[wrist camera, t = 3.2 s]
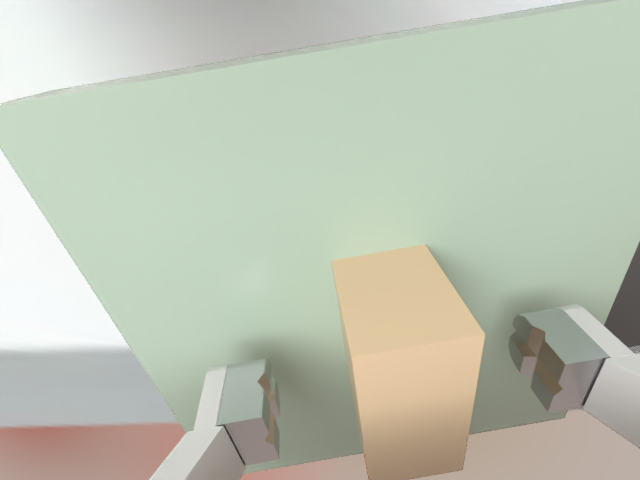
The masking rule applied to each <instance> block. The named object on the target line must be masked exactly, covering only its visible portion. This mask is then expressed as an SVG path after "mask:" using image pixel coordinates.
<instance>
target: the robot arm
mask: <svg viewBox="0 0 640 480" xmlns="http://www.w3.org/2000/svg"><path fill="white" fill-rule="evenodd" d="M512 325H513V327H514V328H515V329H516V331H515V332H514V333H513V334H512V335H511V336H510V338H509V344H508V347H509V352H510V356H511V358H512V361H513V363H514V365H515V366H516V368H517V369H518V371H519V372H520V373H521V374H523V375H525V376H527V377H528V378H530V379H531V389H532V391H533V392H534V394H535V395H536V396H537V398H538V399H539V401H540V402H541V403H542V405H543V406H544V408H545V409H546V411H547V412H553V411H560V410H567V409H574V408H581V407H583V410H585V411H586V412H588V413H589V414H590V415H592V416H593V417H595V418H596V419H598V420H599V421H601V422H602V423H603V424H605V425H606V426H608V427H609V428H611V429H612V430H614V431H615V432H616V433H618V434H619V435H621V436H622V437H624V438H625V439H627V440H628V441H630V442H631V443H632V444H634V445H635V446H637V447H638V448H640V353H636V354H634V353H633V352H632V351H631V350H630V349H629V348H628V347H627V346H625V345H624V344H623V343H622V342H621V341H620V340H619V339H618V338H617V337H616V336H614V335H613V334H612V333H611V332H610V331H609V330H608V329H607V328H606V327H605V326H603V325H602V324H601V323H600V322H599V321H598V320H597V319H596V318H595V317H593V316H592V315H591V314H590V313H589V312H588V311H587V310H586V309H585V308H583V307H582V306H580V305H578V304H574V305H568V306H562V307H557V308H549V309H544V310H538V311H533V312H528V313H522V314H517V315H516V316H515V318H514V320H513V324H512ZM279 415H280V400H279V391H278V386H277V382H276V379H275V377H273V376H272V375H271V364H270V362H269V359H260V360H254V361H247V362H240V363H233V364H227V365H221V366H215V367H210V368H209V370H208V372H207V373H206V377H205V381H204V386H203V390H202V395H201V399H200V403H199V408H198V412H197V417H196V421H195V425H194V430H193V431H188V432H187V433H186V434H185V435H184V436H183V438H182V439H181V440H180V441H179V443H178V444H177V445H176V446H175V448H174V449H173V450H172V452H171V453H170V454H169V455H168V456H167V458H166V459H165V460H164V462H163V463H162V464H161V465H160V466H159V468H158V469H157V470H156V471H155V473H154V474H153V475H152V476H151V478H150V479H149V480H240V478H241V476H242V475H243V473H244V471H245V469H246V468H245V466H248V465H253V464H258V463H263V462H268V461H273V460H278V459H279V448H280V431H279V428H278V425H277V423H276V420H277V418H278V416H279Z"/></svg>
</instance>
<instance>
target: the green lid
mask: <svg viewBox="0 0 640 480" xmlns="http://www.w3.org/2000/svg"><path fill="white" fill-rule="evenodd" d="M0 149H1V150H2V152H3V153H4V155H5V156H6V158H7V160H8V161H9V163H10V164H11V166H12V167H13V169H14V170H15V172H16V173H17V175H18V176H19V178H20V179H21V181H22V182H23V184H24V186H25V187H26V189H27V190H28V192H29V193H30V195H31V196H32V198H33V199H34V201H35V202H36V204H37V205H38V207H39V209H40V210H41V212H42V213H43V215H44V216H45V218H46V219H47V221H48V222H49V224H50V225H51V227H52V228H53V230H54V232H55V233H56V235H57V236H58V238H59V239H60V241H61V242H62V244H63V245H64V247H65V248H66V250H67V251H68V253H69V255H70V256H71V258H72V259H73V261H74V262H75V264H76V265H77V267H78V268H79V270H80V271H81V273H82V274H83V276H84V278H85V279H86V281H87V282H88V284H89V285H90V287H91V288H92V290H93V291H94V293H95V294H96V296H97V297H98V299H99V300H100V302H101V304H102V305H103V307H104V308H105V310H106V311H107V313H108V314H109V316H110V317H111V319H112V320H113V322H114V323H115V325H116V327H117V328H118V330H119V331H120V333H121V334H122V336H123V337H124V339H125V340H126V342H127V343H128V345H129V346H130V348H131V350H132V351H133V353H134V354H135V356H136V357H137V359H138V360H139V362H140V363H141V365H142V366H143V368H144V369H145V371H146V373H147V374H148V376H149V377H150V379H151V380H152V382H153V383H154V385H155V386H156V388H157V389H158V391H159V392H160V394H161V396H162V397H163V399H164V400H165V402H166V403H167V405H168V406H169V408H170V409H171V411H172V412H173V414H174V415H175V417H176V419H177V420H178V422H179V423H180V425H181V426H182V428H183V429H184V431H185V432H186V433H187V432H188V431H193V430H194V425H195V421H196V417H197V412H198V408H199V403H200V399H201V395H202V390H203V386H204V381H205V377H206V373H207V372H208V370H209V368H210V367H215V366H221V365H227V364H233V363H240V362H247V361H254V360H260V359H269V362H270V364H271V375H272V376H273V377H275V379H276V382H277V386H278V391H279V400H280V415H279V416H278V418H277V420H276V423H277V425H278V428H279V431H280V448H279V459H278V460H273V461H268V462H263V463H258V464H253V465H248V466H245V468H246V469H245V471H244V473H243V474H246V473H251V472H257V471H263V470H268V469H274V468H280V467H286V466H291V465H297V464H303V463H309V462H314V461H320V460H326V459H332V458H337V457H343V456H349V455H355V454H360V453H364V458H365V463H366V469H367V474H368V479H369V480H408V479H414V478H420V477H426V476H431V475H437V474H443V473H448V472H454V471H459V470H463V465H464V459H465V453H466V447H467V441H468V435H469V434H474V433H481V432H487V431H492V430H498V429H504V428H509V427H515V426H521V425H527V424H533V423H538V422H544V421H549V420H555V419H561V418H565V416H566V413H567V411H568V409H567V410H560V411H553V412H547V411H546V409H545V408H544V406H543V405H542V403H541V402H540V401H539V399H538V398H537V396H536V395H535V394H534V392H533V391H532V389H531V379H530V378H528V377H527V376H525V375H523V374H521V373H520V372H519V371H518V369H517V368H516V366H515V365H514V363H513V361H512V358H511V356H510V352H509V347H508V344H509V338H510V336H511V335H512V334H513V333H514V332H515V331H516V329H515V328H514V327H513V325H512V324H513V320H514V318H515V316H516V315H517V314H522V313H528V312H533V311H538V310H544V309H549V308H557V307H562V306H568V305H574V304H578V305H580V306H582V307H583V308H585V309H586V310H587V311H588V312H589V313H590V314H591V315H592V316H593V317H595V318H596V319H597V320H598V321H599V322H600V323H601V324H602V325H603V326H604V324H605V322H606V319H607V317H608V314H609V312H610V310H611V307H612V305H613V303H614V300H615V298H616V296H617V293H618V291H619V289H620V286H621V284H622V282H623V279H624V277H625V274H626V272H627V270H628V267H629V265H630V263H631V260H632V258H633V256H634V253H635V251H636V249H637V246H638V244H639V242H640V0H582V1H576V2H570V3H564V4H559V5H553V6H547V7H541V8H535V9H529V10H523V11H517V12H511V13H506V14H500V15H494V16H488V17H482V18H476V19H470V20H464V21H458V22H453V23H447V24H441V25H435V26H429V27H423V28H417V29H411V30H405V31H400V32H394V33H388V34H382V35H376V36H370V37H364V38H358V39H352V40H347V41H341V42H335V43H329V44H323V45H317V46H311V47H305V48H300V49H294V50H288V51H282V52H276V53H270V54H264V55H258V56H252V57H247V58H241V59H235V60H229V61H223V62H217V63H211V64H205V65H199V66H194V67H188V68H182V69H176V70H170V71H164V72H158V73H152V74H146V75H141V76H135V77H129V78H123V79H117V80H111V81H105V82H99V83H93V84H88V85H82V86H76V87H70V88H64V89H58V90H52V91H48V92H44V93H40V94H36V95H32V96H28V97H24V98H20V99H16V100H12V101H8V102H4V103H0Z"/></svg>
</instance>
